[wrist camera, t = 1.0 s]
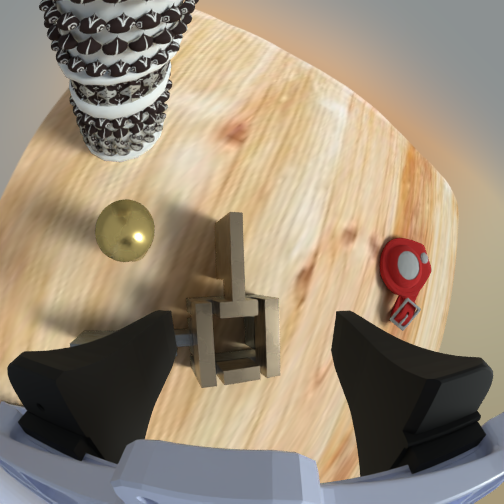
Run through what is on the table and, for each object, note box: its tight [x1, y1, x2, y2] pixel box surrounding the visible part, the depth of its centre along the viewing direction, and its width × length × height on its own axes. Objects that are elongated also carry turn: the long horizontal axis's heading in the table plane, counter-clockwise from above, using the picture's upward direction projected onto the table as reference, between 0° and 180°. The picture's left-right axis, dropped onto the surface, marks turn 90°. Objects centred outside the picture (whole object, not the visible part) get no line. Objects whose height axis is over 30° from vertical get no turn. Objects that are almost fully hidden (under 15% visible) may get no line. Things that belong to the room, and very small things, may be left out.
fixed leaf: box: [70, 294, 262, 376], centre depth 21 cm, size 16×7×5 cm, turn 92°
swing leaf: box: [191, 212, 280, 388], centre depth 23 cm, size 13×7×5 cm, turn 2°
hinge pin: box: [95, 200, 154, 262], centre depth 18 cm, size 4×4×9 cm
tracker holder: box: [380, 238, 431, 331], centre depth 33 cm, size 12×4×10 cm
